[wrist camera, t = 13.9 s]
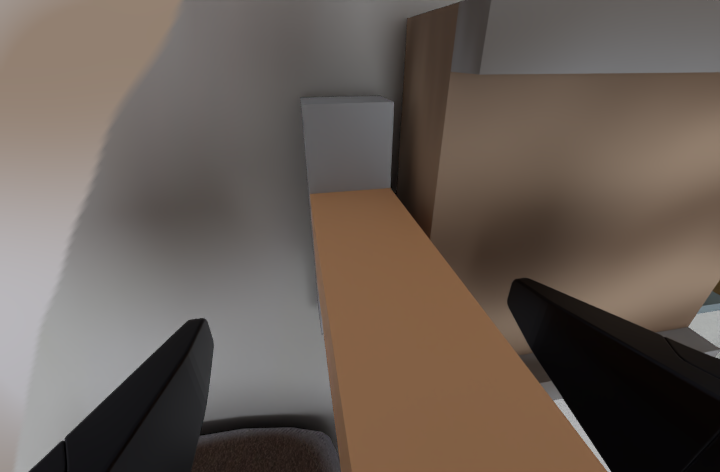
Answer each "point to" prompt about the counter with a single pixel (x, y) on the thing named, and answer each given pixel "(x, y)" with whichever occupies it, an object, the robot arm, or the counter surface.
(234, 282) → the counter surface
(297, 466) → the dark brown rounded block
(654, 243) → the railed tan board
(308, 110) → the brown and grey block
